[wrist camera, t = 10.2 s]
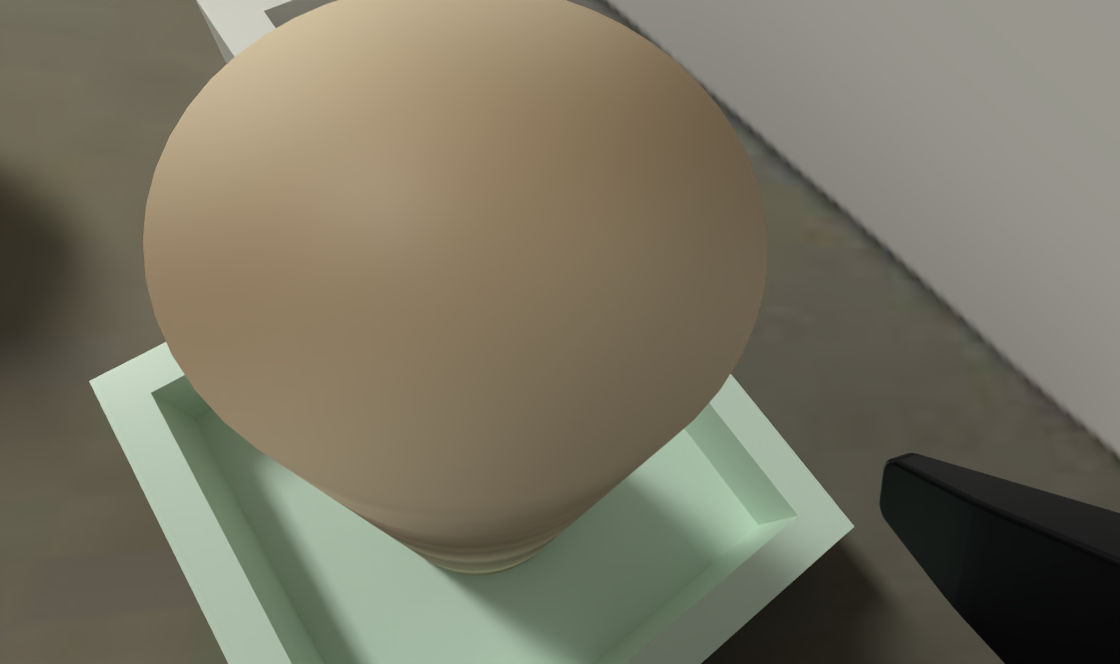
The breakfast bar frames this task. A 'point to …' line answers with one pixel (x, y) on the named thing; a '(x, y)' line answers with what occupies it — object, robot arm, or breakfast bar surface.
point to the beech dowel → (456, 261)
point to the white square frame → (249, 20)
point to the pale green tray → (461, 599)
